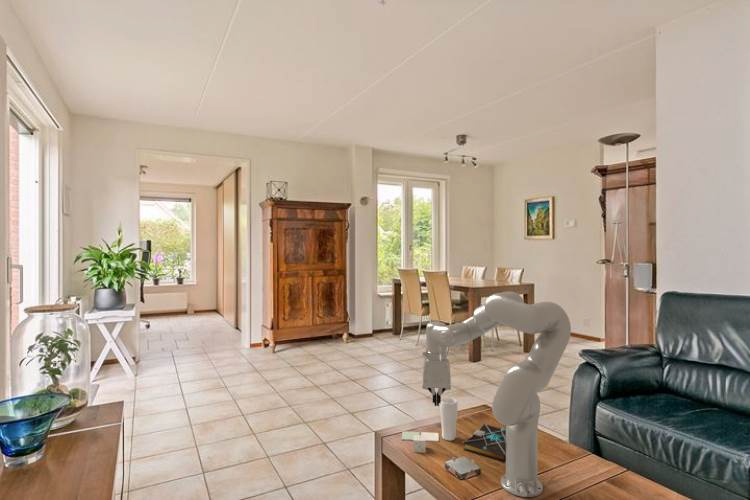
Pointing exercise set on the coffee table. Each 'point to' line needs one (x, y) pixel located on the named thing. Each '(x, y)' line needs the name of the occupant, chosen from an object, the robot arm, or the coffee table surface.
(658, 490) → the coffee table surface
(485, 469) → the coffee table surface
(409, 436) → the squares
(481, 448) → the book
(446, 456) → the coffee table surface
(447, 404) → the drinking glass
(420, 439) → the die
